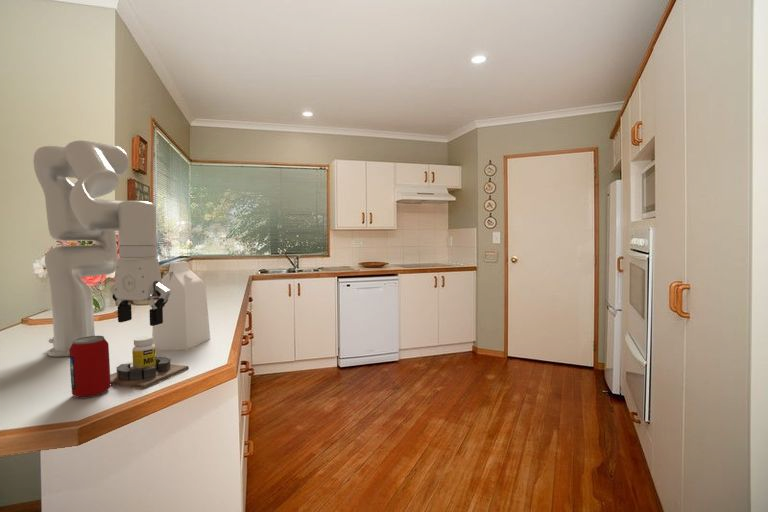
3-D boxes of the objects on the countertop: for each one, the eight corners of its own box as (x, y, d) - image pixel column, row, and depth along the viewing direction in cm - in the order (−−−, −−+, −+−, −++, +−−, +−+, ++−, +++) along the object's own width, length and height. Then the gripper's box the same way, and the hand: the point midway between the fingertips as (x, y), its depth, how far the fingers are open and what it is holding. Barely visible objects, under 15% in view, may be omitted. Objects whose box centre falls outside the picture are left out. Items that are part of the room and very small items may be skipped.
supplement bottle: (145, 376, 91) (143, 341, 90) (128, 375, 92) (126, 340, 91) (160, 369, 95) (159, 336, 95) (145, 368, 96) (143, 335, 96)
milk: (178, 338, 128) (175, 260, 127) (210, 338, 127) (207, 260, 125) (152, 348, 116) (148, 263, 115) (186, 349, 115) (183, 263, 113)
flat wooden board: (96, 383, 89) (95, 370, 89) (145, 364, 102) (144, 353, 101) (144, 388, 85) (143, 375, 85) (188, 368, 98) (188, 357, 98)
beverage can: (86, 387, 86) (83, 335, 86) (117, 386, 87) (114, 334, 86) (63, 400, 80) (60, 343, 79) (98, 398, 80) (94, 342, 80)
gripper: (95, 252, 91) (98, 323, 92) (153, 255, 86) (155, 329, 87) (124, 250, 98) (127, 316, 99) (180, 253, 93) (181, 322, 94)
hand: (140, 322), depth 93 cm, fingers open, 9 cm apart
